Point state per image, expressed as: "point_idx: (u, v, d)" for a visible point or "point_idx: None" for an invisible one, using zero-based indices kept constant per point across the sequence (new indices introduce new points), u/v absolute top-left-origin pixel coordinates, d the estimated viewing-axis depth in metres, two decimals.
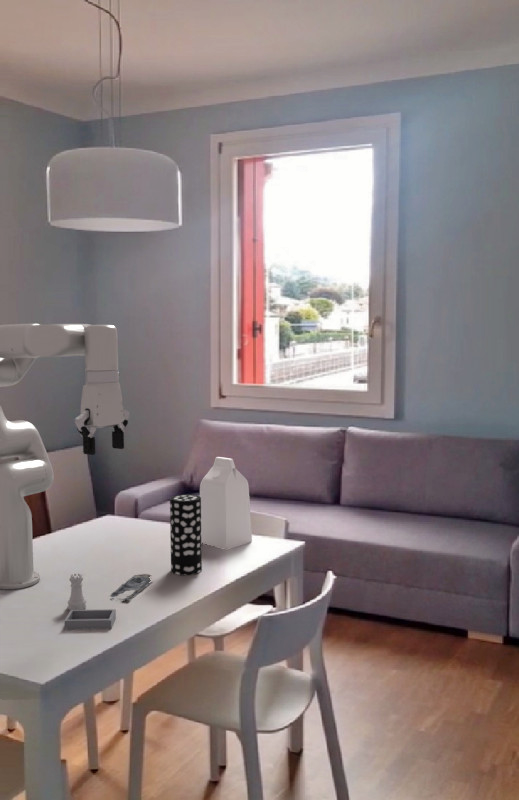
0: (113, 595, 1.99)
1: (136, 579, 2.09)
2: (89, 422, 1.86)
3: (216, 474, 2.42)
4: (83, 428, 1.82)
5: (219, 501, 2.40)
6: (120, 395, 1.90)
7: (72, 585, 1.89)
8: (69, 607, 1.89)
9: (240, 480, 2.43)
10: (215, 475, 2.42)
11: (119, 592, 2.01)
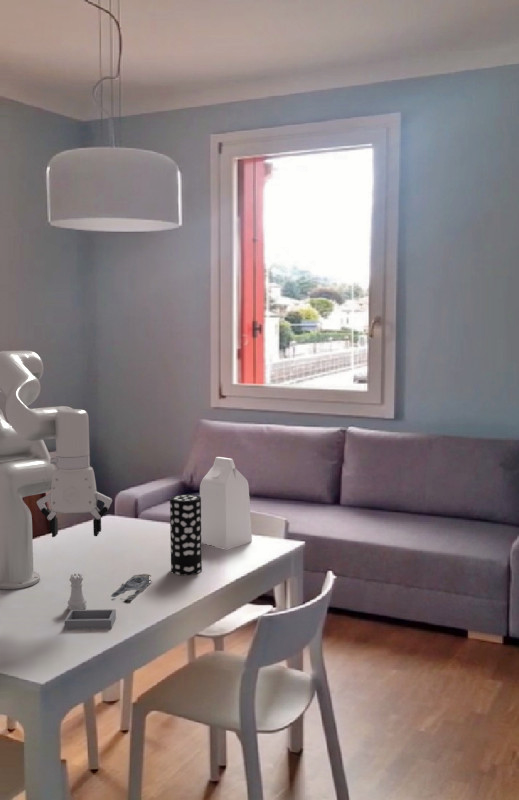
0: (114, 595, 1.99)
1: (136, 579, 2.09)
2: None
3: (216, 474, 2.42)
4: None
5: (219, 501, 2.40)
6: None
7: (72, 585, 1.89)
8: (69, 607, 1.89)
9: (240, 480, 2.43)
10: (215, 475, 2.42)
11: (120, 592, 2.01)
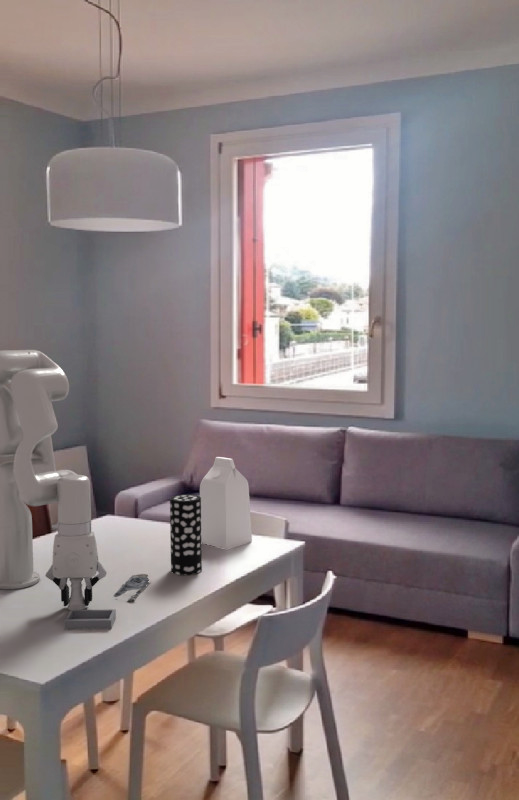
0: (116, 595, 1.99)
1: (135, 579, 2.09)
2: None
3: (216, 474, 2.42)
4: None
5: (219, 501, 2.40)
6: None
7: (72, 585, 1.89)
8: (69, 607, 1.89)
9: (240, 480, 2.43)
10: (215, 475, 2.42)
11: (121, 592, 2.01)
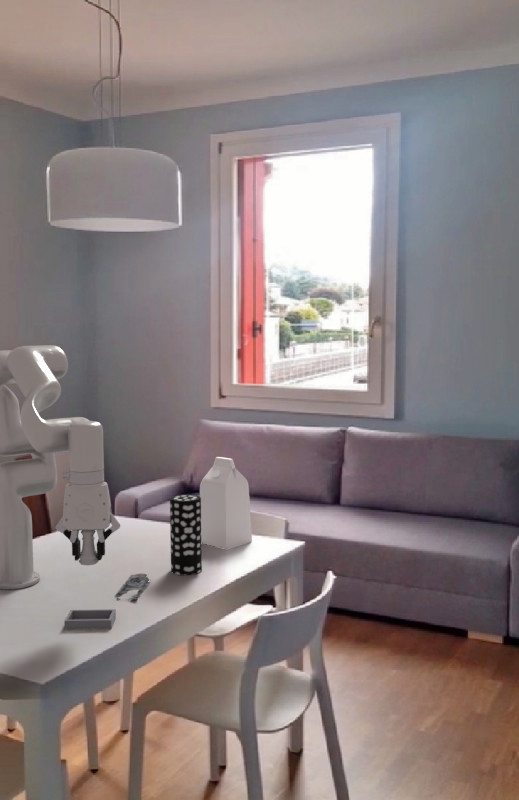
0: (118, 595, 1.99)
1: (135, 579, 2.09)
2: None
3: (216, 474, 2.42)
4: None
5: (219, 501, 2.40)
6: None
7: (84, 538, 1.78)
8: (80, 561, 1.78)
9: (240, 480, 2.43)
10: (215, 475, 2.42)
11: (123, 592, 2.01)
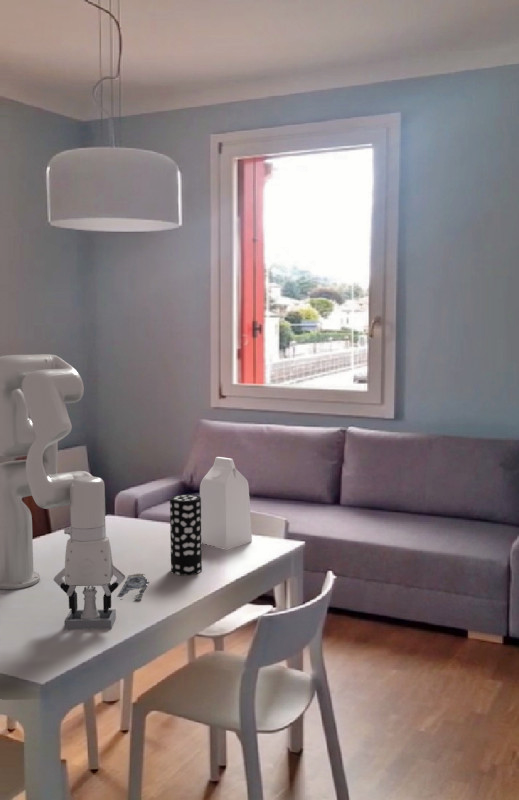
0: (120, 596, 1.99)
1: (134, 579, 2.09)
2: None
3: (216, 474, 2.42)
4: None
5: (219, 501, 2.40)
6: None
7: (85, 598, 1.79)
8: None
9: (240, 480, 2.43)
10: (215, 475, 2.42)
11: (124, 592, 2.01)
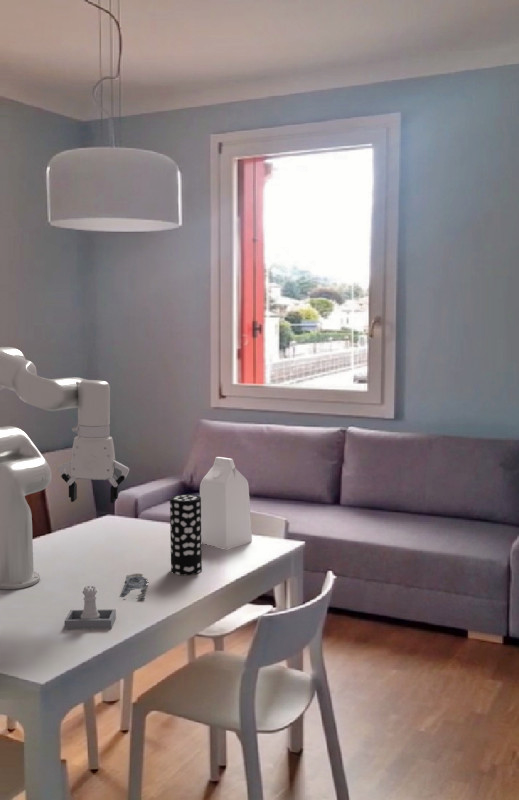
0: (123, 596, 1.99)
1: (134, 579, 2.09)
2: None
3: (216, 474, 2.42)
4: None
5: (219, 501, 2.40)
6: None
7: (85, 598, 1.80)
8: None
9: (240, 480, 2.43)
10: (215, 475, 2.42)
11: (126, 592, 2.01)
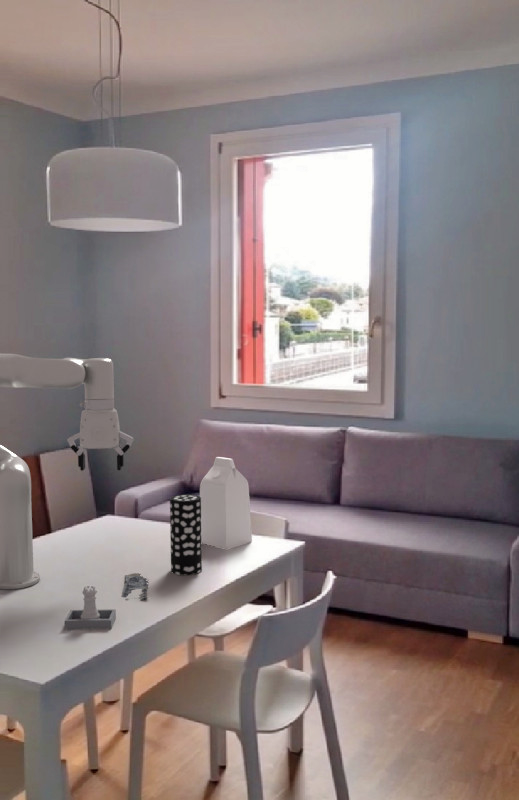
0: (125, 595, 1.99)
1: (133, 578, 2.09)
2: None
3: (216, 474, 2.42)
4: None
5: (219, 501, 2.40)
6: None
7: (85, 598, 1.80)
8: None
9: (240, 480, 2.43)
10: (215, 475, 2.42)
11: (127, 592, 2.01)
